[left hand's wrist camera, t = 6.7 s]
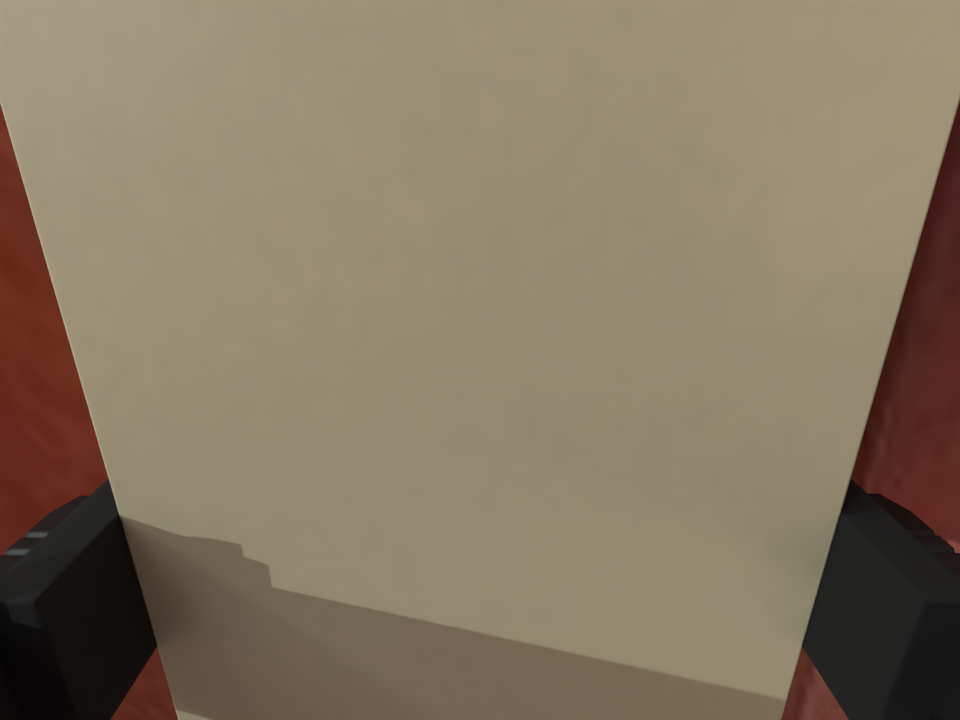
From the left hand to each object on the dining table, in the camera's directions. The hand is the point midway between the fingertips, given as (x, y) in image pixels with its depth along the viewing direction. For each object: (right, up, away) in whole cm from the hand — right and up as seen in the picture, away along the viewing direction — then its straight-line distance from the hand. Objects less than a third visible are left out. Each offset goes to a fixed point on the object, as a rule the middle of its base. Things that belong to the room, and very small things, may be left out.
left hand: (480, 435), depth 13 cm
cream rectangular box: (0, +6, +1) cm, 6 cm away
